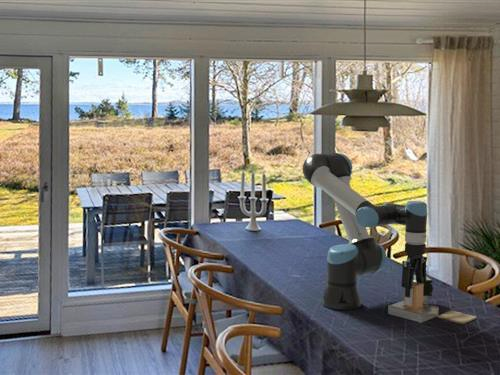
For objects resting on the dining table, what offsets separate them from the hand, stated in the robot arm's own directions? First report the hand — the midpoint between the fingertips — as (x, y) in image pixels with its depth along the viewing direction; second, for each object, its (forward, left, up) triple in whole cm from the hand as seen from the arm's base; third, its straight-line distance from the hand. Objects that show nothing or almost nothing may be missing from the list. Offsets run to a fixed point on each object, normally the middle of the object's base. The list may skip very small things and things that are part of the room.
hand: (413, 303), depth 216 cm
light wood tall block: (0, 0, -4) cm, 4 cm away
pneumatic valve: (-5, +14, -5) cm, 16 cm away
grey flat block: (0, 0, -4) cm, 4 cm away
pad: (+13, +9, -4) cm, 16 cm away
